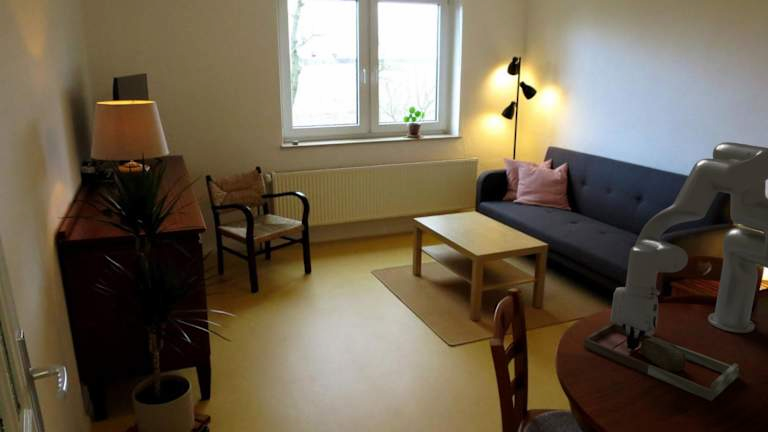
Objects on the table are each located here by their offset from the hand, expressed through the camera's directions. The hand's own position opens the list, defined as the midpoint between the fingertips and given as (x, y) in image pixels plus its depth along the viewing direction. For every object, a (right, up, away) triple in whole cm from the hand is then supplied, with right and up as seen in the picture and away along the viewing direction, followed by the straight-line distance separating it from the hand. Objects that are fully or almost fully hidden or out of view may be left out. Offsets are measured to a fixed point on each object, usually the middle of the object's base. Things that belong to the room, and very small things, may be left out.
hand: (632, 347), depth 162 cm
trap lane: (+5, -3, -5) cm, 7 cm away
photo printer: (+6, +3, +17) cm, 18 cm away
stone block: (+6, -3, -5) cm, 8 cm away
